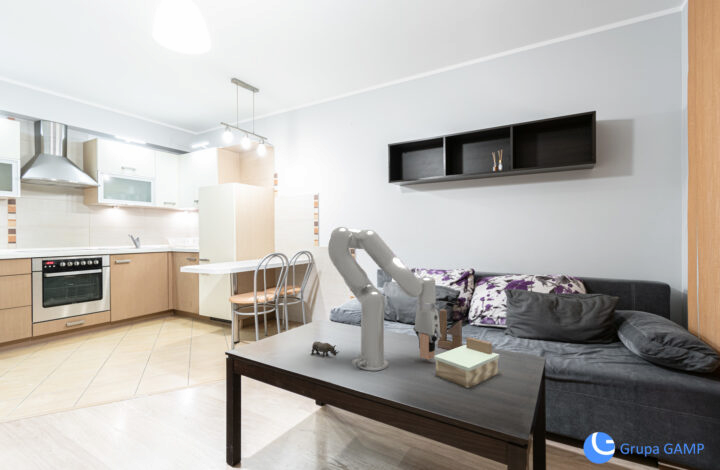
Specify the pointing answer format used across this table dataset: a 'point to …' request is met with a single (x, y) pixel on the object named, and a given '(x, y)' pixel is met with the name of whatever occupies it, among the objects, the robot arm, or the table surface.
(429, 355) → the salmon rectangular block
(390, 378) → the table surface
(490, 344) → the lid
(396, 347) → the table surface
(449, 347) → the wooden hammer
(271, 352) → the table surface
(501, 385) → the table surface
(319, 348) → the rhino figurine
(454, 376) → the tan wooden low box
